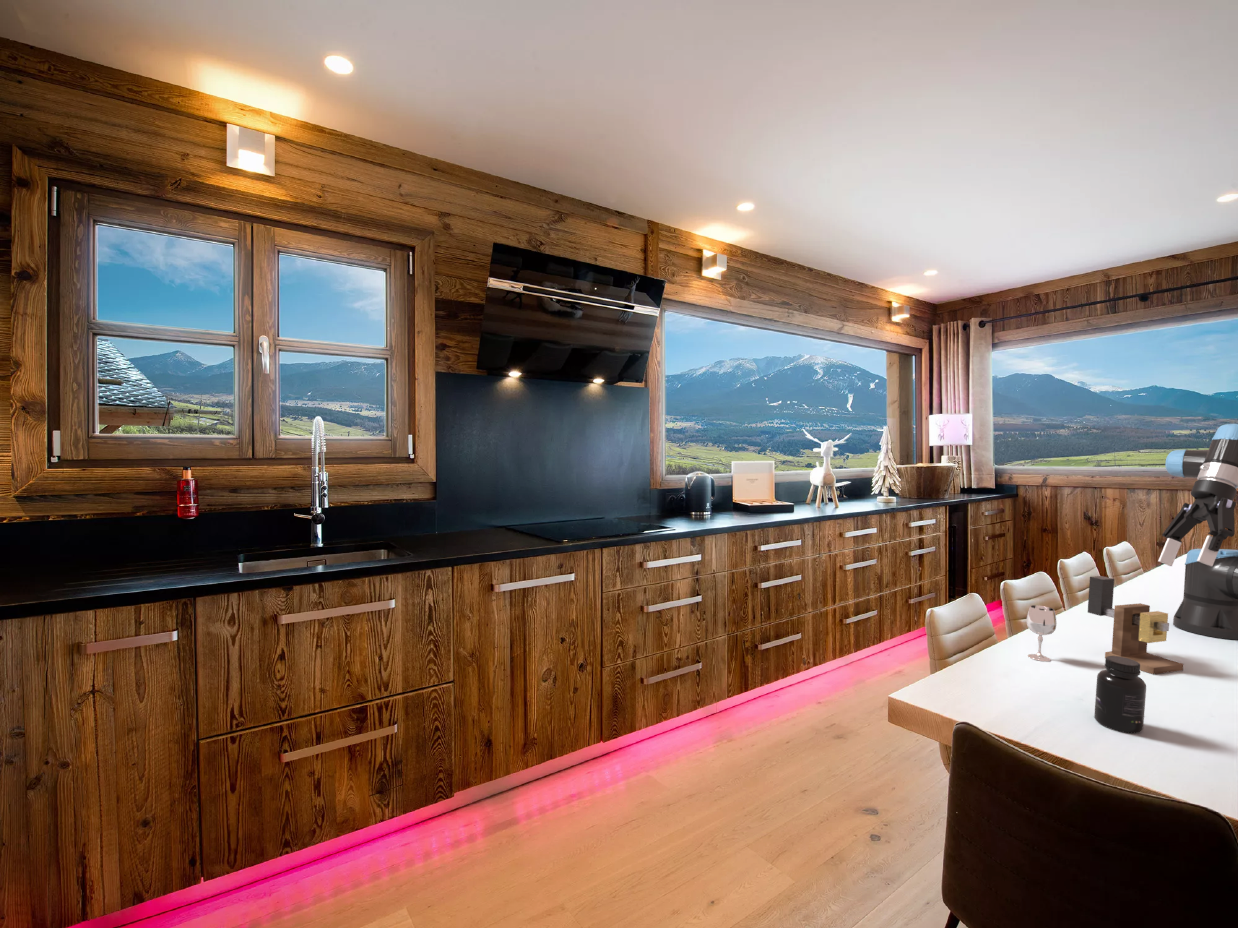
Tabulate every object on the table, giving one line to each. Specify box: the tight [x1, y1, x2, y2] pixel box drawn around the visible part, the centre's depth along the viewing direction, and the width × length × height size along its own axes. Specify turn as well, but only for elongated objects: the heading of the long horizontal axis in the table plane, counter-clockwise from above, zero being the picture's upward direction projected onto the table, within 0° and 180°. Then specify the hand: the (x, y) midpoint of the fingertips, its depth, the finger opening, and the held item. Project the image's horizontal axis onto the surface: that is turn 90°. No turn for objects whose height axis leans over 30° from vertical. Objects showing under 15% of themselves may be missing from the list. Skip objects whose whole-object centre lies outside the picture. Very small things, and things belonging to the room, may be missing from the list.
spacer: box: [1139, 610, 1169, 644], centre depth 137 cm, size 2×6×6 cm, turn 108°
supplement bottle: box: [1093, 656, 1147, 734], centre depth 107 cm, size 7×7×12 cm
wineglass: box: [1026, 604, 1058, 662], centre depth 141 cm, size 6×6×12 cm
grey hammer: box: [1087, 575, 1170, 632], centre depth 142 cm, size 16×4×9 cm, turn 18°
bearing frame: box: [1104, 603, 1184, 676], centre depth 139 cm, size 10×10×13 cm
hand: (1183, 563), depth 144 cm, fingers open, 13 cm apart
